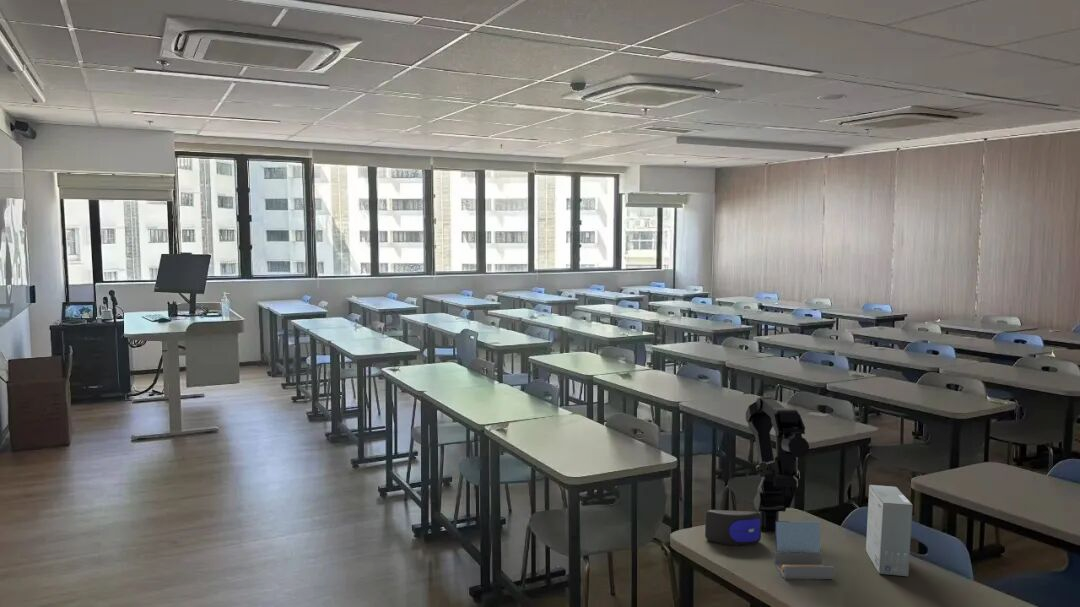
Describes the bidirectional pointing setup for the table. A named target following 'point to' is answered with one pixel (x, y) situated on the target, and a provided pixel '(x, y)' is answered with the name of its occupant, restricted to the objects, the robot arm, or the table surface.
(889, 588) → the table surface
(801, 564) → the cable duct
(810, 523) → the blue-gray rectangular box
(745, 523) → the grey blue curved block
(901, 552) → the hard drive box
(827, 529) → the table surface
